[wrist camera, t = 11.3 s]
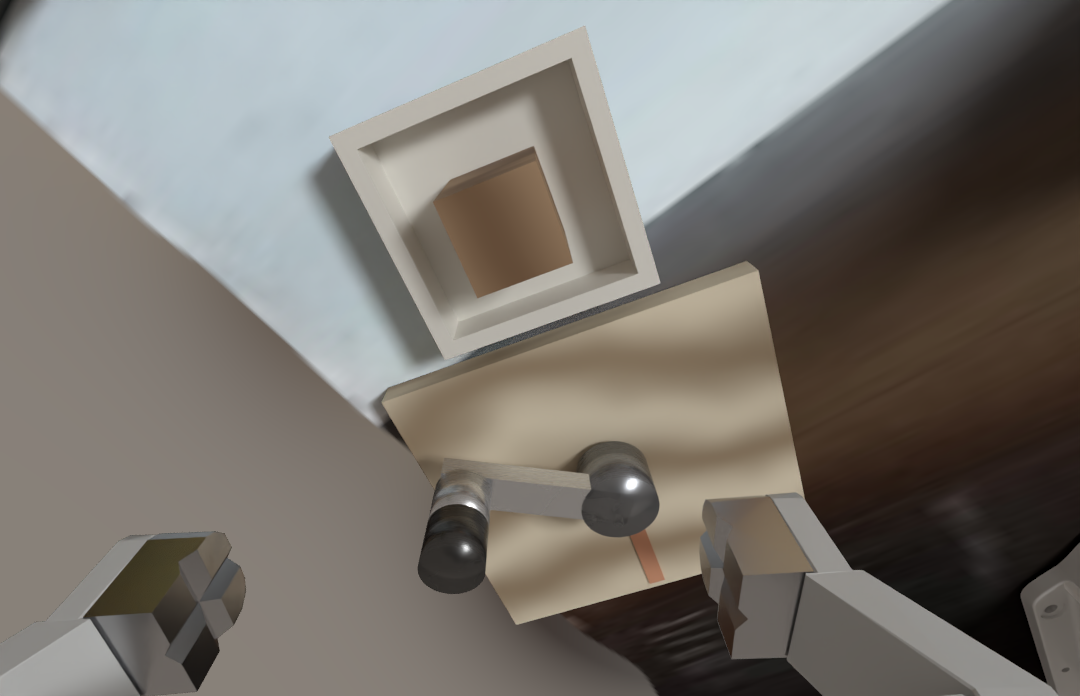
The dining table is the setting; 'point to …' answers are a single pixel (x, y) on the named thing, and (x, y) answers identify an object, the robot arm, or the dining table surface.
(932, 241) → the dining table surface
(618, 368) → the crank board
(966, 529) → the dining table surface
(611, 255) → the tray
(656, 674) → the dining table surface
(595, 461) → the crank
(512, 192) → the block
